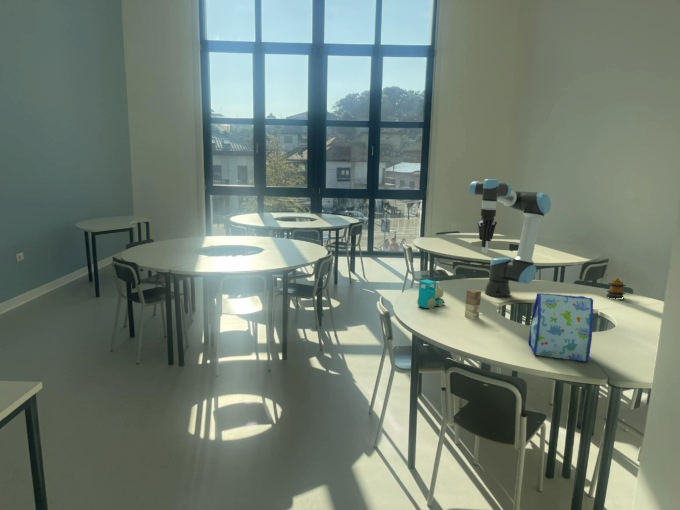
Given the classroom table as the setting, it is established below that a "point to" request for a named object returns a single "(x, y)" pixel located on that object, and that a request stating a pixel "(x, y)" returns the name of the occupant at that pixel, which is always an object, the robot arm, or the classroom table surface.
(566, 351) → the lunch bag
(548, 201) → the robot arm
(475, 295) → the walnut block
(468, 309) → the maple block
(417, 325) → the classroom table surface
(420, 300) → the toy train
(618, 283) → the orange tiered tower
